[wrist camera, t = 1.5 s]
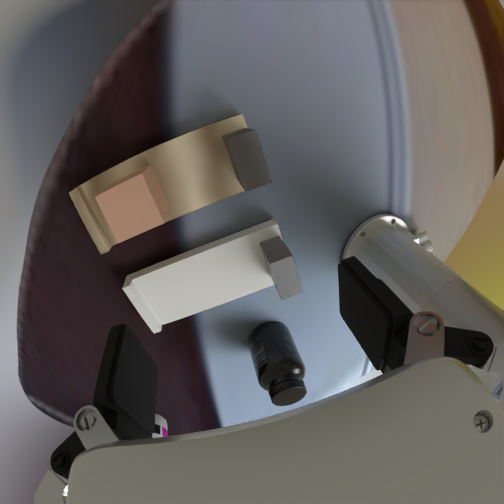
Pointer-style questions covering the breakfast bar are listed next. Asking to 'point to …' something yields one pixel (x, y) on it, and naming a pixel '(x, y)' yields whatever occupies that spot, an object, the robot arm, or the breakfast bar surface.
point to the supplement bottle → (277, 363)
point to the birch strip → (184, 173)
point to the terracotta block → (133, 204)
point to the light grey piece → (213, 275)
